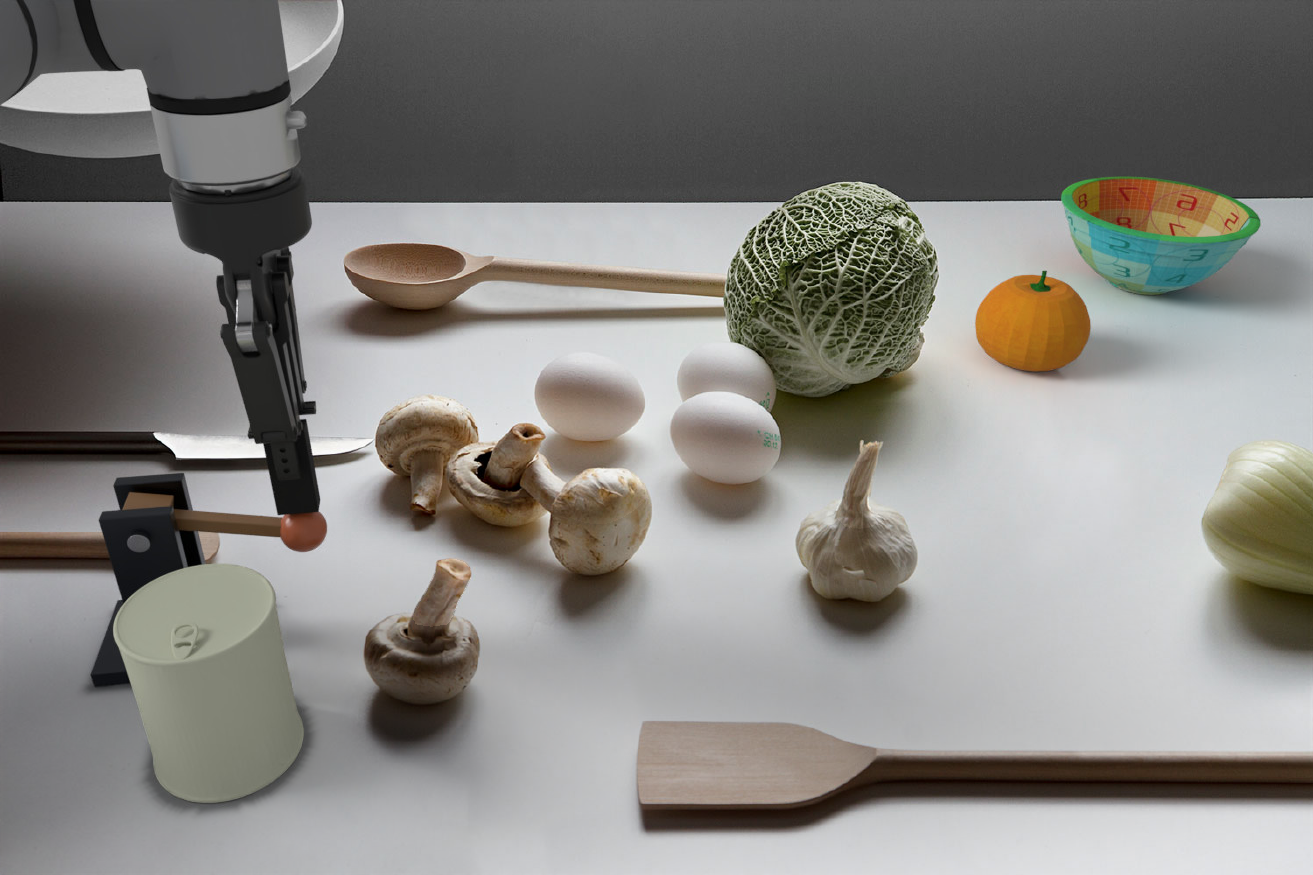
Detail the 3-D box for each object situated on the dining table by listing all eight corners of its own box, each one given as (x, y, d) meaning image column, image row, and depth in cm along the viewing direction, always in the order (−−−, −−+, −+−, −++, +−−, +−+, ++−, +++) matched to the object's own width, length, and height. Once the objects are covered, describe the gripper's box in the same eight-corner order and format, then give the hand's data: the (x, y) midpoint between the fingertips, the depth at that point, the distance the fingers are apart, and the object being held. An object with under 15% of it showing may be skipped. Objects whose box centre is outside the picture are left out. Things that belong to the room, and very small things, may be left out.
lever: (327, 535, 81) (330, 499, 79) (323, 563, 78) (326, 525, 77) (131, 521, 78) (130, 482, 76) (120, 549, 75) (119, 509, 74)
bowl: (1026, 295, 136) (1042, 216, 131) (1066, 237, 153) (1081, 164, 148) (1226, 338, 127) (1252, 255, 122) (1245, 270, 144) (1268, 195, 139)
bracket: (260, 599, 86) (230, 457, 79) (245, 672, 79) (211, 524, 72) (121, 612, 84) (78, 468, 78) (94, 687, 78) (44, 537, 71)
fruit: (976, 326, 129) (992, 243, 124) (1084, 344, 125) (1104, 259, 120) (962, 371, 119) (978, 283, 114) (1078, 391, 116) (1100, 302, 111)
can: (139, 812, 69) (91, 664, 62) (170, 703, 76) (130, 562, 70) (296, 795, 70) (264, 648, 64) (311, 689, 78) (283, 550, 72)
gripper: (291, 208, 60) (349, 560, 73) (313, 136, 71) (360, 452, 84) (143, 215, 59) (227, 571, 72) (188, 141, 70) (255, 461, 82)
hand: (299, 507), depth 78 cm, fingers closed
